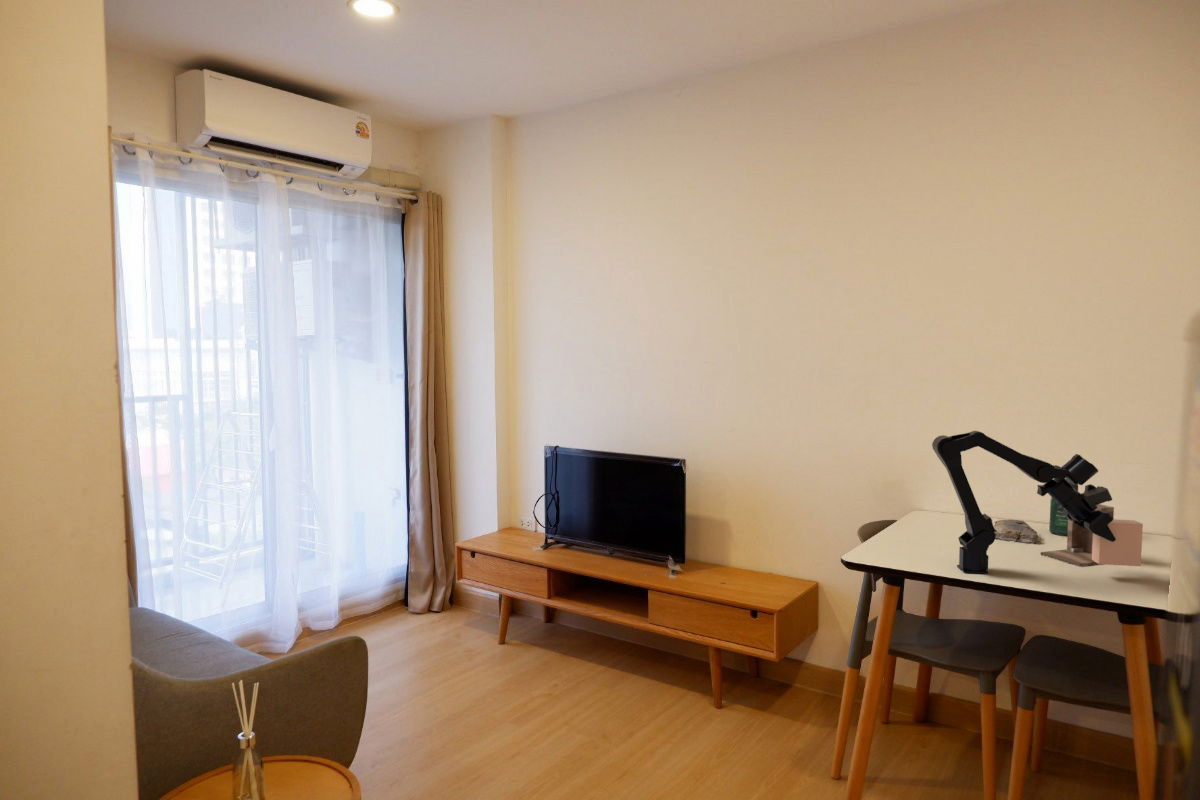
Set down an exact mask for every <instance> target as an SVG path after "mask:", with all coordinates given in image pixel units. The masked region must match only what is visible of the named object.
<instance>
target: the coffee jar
mask: <svg viewBox="0 0 1200 800" xmlns="http://www.w3.org/2000/svg"><path fill="white" fill-rule="evenodd" d="M1065 480H1066V481H1067V482H1068V483H1069V484H1070V485H1071V486H1072V487H1073V488H1074V489H1075V490H1076V491H1078V492H1079V484H1076V485H1073V484H1072V483H1071V482H1069V481H1068V480H1067V479H1066V478H1065ZM1049 503H1050V508H1049V527H1048V528H1049V532H1050V533H1051V534H1055V535H1058V534H1059V535H1058V536H1062V535H1065V536H1067V534H1068V519H1067V518H1066V517H1065V516H1064V515H1063V510H1064V509H1063V508H1061V507H1060V506H1059V505H1058V503H1057V502H1056V501H1055V500H1054V499H1053V498H1052V497H1051V496H1050V502H1049Z"/></svg>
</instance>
